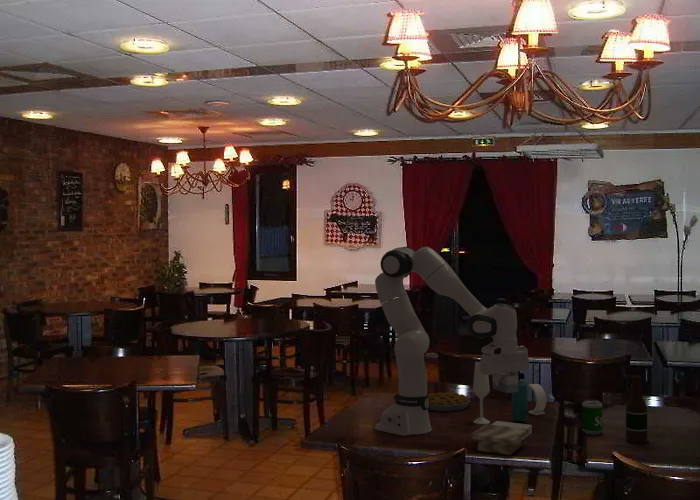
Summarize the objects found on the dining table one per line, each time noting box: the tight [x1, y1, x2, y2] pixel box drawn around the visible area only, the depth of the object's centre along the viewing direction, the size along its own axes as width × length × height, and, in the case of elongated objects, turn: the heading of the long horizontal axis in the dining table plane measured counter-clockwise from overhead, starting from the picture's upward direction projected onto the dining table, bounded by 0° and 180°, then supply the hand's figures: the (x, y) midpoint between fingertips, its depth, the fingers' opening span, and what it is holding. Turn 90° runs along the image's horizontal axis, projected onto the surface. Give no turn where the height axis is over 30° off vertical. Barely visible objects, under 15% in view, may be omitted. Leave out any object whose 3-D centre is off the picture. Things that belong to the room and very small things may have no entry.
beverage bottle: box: [511, 372, 529, 422], centre depth 317 cm, size 6×7×20 cm
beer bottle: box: [625, 374, 648, 444], centre depth 289 cm, size 8×8×24 cm
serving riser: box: [469, 423, 528, 456], centre depth 282 cm, size 16×16×6 cm
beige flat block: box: [491, 420, 533, 442], centre depth 300 cm, size 14×12×3 cm
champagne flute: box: [472, 361, 491, 425], centre depth 319 cm, size 7×7×24 cm
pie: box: [427, 391, 471, 412], centre depth 347 cm, size 22×22×5 cm
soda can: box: [581, 399, 604, 436], centre depth 301 cm, size 8×8×12 cm
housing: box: [491, 372, 519, 394], centre depth 293 cm, size 9×5×6 cm, turn 27°
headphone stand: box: [527, 383, 547, 416], centre depth 331 cm, size 5×6×12 cm
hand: (505, 384), depth 293 cm, fingers closed on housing, 5 cm apart
